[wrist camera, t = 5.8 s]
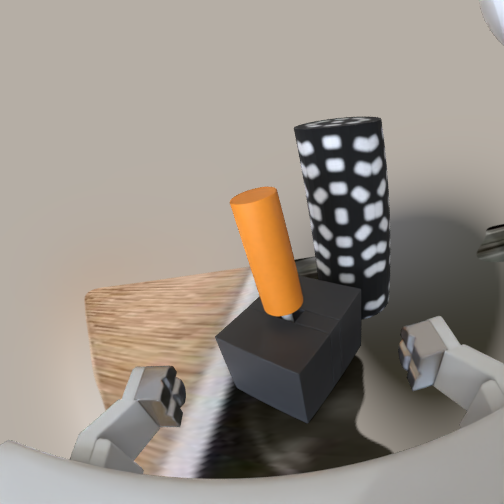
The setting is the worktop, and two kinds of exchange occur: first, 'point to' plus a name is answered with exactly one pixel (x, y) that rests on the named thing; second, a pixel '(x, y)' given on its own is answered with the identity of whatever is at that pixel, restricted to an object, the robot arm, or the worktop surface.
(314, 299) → the holder
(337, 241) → the spotted tube
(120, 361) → the worktop surface
